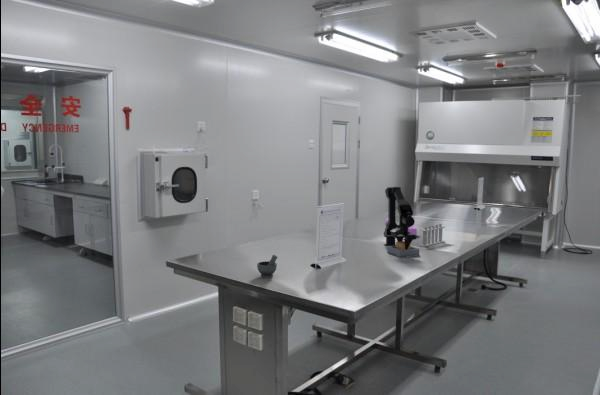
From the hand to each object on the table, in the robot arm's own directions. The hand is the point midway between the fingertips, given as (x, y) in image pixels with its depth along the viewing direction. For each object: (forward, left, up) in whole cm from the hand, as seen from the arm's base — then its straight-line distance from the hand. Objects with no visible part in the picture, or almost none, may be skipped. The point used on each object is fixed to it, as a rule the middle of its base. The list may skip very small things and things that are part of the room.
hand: (403, 248), depth 288 cm
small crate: (0, 0, -1) cm, 1 cm away
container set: (-55, +36, -4) cm, 66 cm away
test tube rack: (-18, +37, -4) cm, 41 cm away
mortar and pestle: (+19, -95, -4) cm, 97 cm away
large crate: (0, 0, -4) cm, 4 cm away
